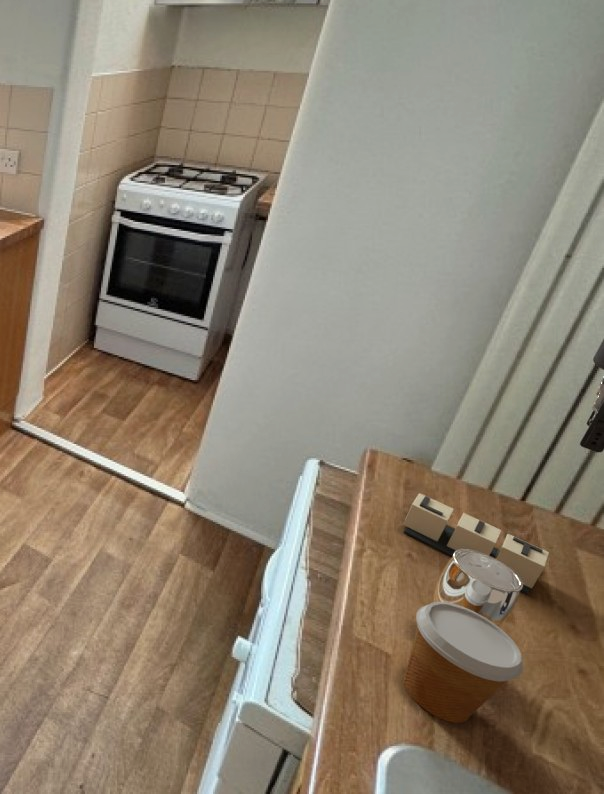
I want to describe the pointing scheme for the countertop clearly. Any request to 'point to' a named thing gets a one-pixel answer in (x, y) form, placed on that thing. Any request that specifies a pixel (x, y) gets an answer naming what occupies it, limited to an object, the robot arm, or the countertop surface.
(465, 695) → the disposable coffee cup
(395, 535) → the countertop surface
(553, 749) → the countertop surface
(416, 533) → the word mat
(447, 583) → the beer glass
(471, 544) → the tile
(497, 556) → the tile
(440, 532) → the tile
